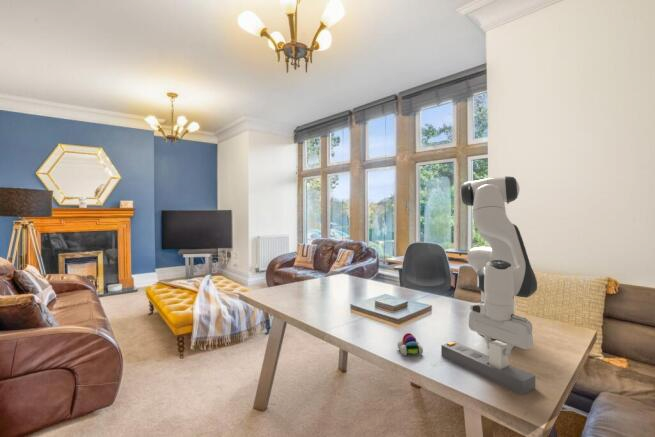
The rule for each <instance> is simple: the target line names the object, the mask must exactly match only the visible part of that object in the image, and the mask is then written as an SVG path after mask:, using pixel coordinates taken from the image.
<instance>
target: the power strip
mask: <svg viewBox="0 0 655 437" xmlns="http://www.w3.org/2000/svg"><path fill="white" fill-rule="evenodd" d="M440 353H441V354H440V355H441V357H443V358H446V359H448V360H450V361H451V362H454V363H455V364H458V365H460V366H462V367H463V368H465V369H468V370H470V371H472V372H474V373H476V374H478V375H481V376H482V377H484V378H485V379H489V380H491V381H493V382H495V383H497V384H499V385H501V386H503V387H505V388H507V389H509V390H510V391H513V392H516V393H518V394H519V395H521V396H524V395H525V394H527V393H529V392H531V391H534V390H535V389H536V375H535V374H533V373H531V372H528V371H525V370H523V369H521V368H520V367H519V368H518V367H516V366H513V365H511V364H509V363H508V367H506V368H504V369H502V370H499V369H497V368H495V367H492V366H490V365H489V355H488V354H485V353H483V352H481V351H478V350H476V349H473V348H471V347H468V346H466V345H464V344H462V343H460V342H457V341H454V340H453V341H449V342H446V343H444V344H441V352H440Z"/></svg>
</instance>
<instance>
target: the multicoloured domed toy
mask: <svg viewBox="0 0 655 437" xmlns="http://www.w3.org/2000/svg"><path fill="white" fill-rule="evenodd" d="M397 348H398V350H400V353H401V355H403V356H404V357H405V356H406V357H407V355H408V354H412V355H415V354H417V356H421V355H422V354H423V353H424V350H423V349H424V348H423V346H422V345H421V344H420V342H419V341H418V340H417V338H416V337H415V335H413V333H411V332H410V333H409V332H407V333H405V334H404V335H403V337H402V339H401V340H399V341H397Z"/></svg>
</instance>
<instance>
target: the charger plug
mask: <svg viewBox="0 0 655 437" xmlns="http://www.w3.org/2000/svg"><path fill="white" fill-rule="evenodd" d="M491 341H492V340H491ZM507 347H508V346H506V343H505V342H503V341H500V340H497V339H494V340H493V341H492V342H490V343H489V349H488V351H489V352H488V354H489V355H488V356H489V365H490V366H492V367H495V368H497V369H499V370H502V369H504V368H506V367H508V364H509V356H505V355H503V349H507Z"/></svg>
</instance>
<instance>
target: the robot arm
mask: <svg viewBox="0 0 655 437" xmlns="http://www.w3.org/2000/svg"><path fill="white" fill-rule="evenodd" d="M520 188H521V187H520V184H519V183H518V181H517V179H516V178H515V177H514V176H506V175H505V176H504V177H503V176H501V177H500V176H498V177H496V176H495V177H487V178H482V179H478V180H472V181H471V180H469V181H466V182H463V184H462V185H461V186H460V189H459V198H460V200H461V201H462V204H463V205H465V206H467V207H468V206H469V207H472V208H473V221H474V226H475V227H476V229H477V230H478V233H479V237H480V238H482V239H483V240H484V241H485V242H487V244H489V246H483V245H482V246H474V247H471V248H470V250H468V251H467V256H466V258H467V259H466V260H467V262H468V265H469V266H471V267H472V269H473V270H474V271H475V274H476V288H477V289H478V290H479V291H480V294H481V295H480V297H481V299H480V301H479V302H475V303H472V304H470V306H469V310H470V311H469V314H468V328H469V329H470V331H473V332H475V333H478V334H479V335H481V336H483V338H484V341H485V343H486V345H487V347H486V348H487V349H488V350H489V343H490V342H492V339H493V340H498V341H501V342H503V343H506V346H508V347H507V349H503V355H505V356H508V357H510V356H511V351H512V350H513V348H514V347H517V348H520V349H523V350H528V349H530V348H532V347H533V346H534V336H533V323H532V322H531V321H530V320H529V319H528V318H526V317H522V316H519V315H516V314H515V299H514V297H518V298H525V299H526V298H527V299H528V298H529V297H531V296H532V295H534V294H535V293H536V292H537V291H538V290H537V289H538V281H537V278H536V275H535V274H536V273H535V272H534V270H533V268H532V265H531V262H530V259H529V256H528V252H527V250H526V247H525V243H524V240H523V237H522V234H521V232H520V229H519V227H518V226H517V225H516V224H515V223H512V221H511V220H510V219H509V218H508V215H507V211H506V205H509V204H510V203H512V202H514V201H516V199H518V197H519V194H520ZM505 203H506V205H505Z"/></svg>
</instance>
